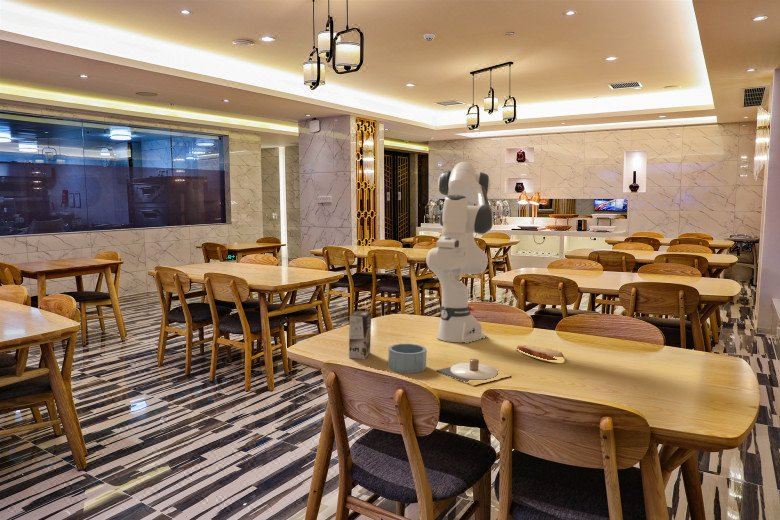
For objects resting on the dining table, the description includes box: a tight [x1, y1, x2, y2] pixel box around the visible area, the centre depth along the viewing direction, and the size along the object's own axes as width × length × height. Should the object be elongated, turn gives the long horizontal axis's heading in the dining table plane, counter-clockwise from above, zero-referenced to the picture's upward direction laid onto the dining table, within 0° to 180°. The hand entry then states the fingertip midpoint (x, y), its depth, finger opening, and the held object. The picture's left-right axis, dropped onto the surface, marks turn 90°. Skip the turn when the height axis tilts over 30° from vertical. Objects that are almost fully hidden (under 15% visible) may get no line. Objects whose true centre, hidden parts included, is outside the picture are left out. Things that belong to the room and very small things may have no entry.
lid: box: [450, 358, 499, 380], centre depth 190 cm, size 16×16×4 cm
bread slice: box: [516, 344, 565, 360], centre depth 214 cm, size 18×18×4 cm
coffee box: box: [348, 310, 372, 360], centre depth 208 cm, size 9×6×16 cm
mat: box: [436, 366, 469, 382], centre depth 190 cm, size 18×18×1 cm
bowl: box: [387, 343, 427, 374], centre depth 195 cm, size 13×13×7 cm
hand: (452, 281), depth 194 cm, fingers open, 8 cm apart
